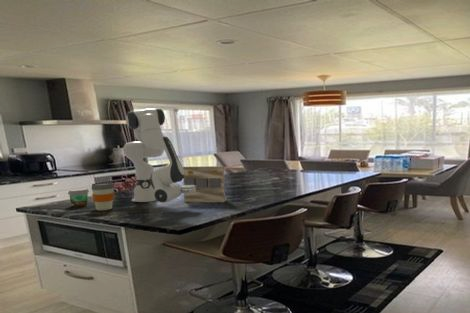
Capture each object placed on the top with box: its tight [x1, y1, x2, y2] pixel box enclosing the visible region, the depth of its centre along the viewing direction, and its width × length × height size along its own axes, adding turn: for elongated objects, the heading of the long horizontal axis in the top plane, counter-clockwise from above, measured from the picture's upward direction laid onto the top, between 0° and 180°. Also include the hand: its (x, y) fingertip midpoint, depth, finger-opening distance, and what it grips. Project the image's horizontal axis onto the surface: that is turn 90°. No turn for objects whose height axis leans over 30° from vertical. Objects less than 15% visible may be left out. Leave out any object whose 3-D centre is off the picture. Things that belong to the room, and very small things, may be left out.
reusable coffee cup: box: [91, 181, 115, 211], centre depth 214 cm, size 13×12×15 cm
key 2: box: [210, 178, 221, 187], centre depth 223 cm, size 5×6×5 cm
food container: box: [67, 188, 90, 208], centre depth 225 cm, size 12×6×10 cm, turn 129°
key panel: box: [182, 165, 227, 203], centre depth 226 cm, size 7×26×22 cm, turn 76°
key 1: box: [185, 178, 196, 186], centre depth 226 cm, size 5×6×5 cm
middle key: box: [197, 178, 208, 187], centre depth 223 cm, size 5×6×5 cm
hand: (183, 186), depth 212 cm, fingers closed
